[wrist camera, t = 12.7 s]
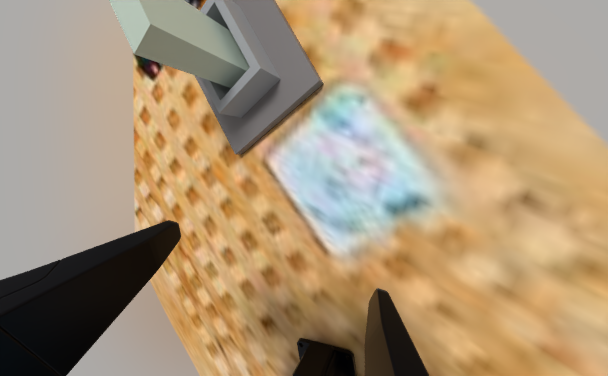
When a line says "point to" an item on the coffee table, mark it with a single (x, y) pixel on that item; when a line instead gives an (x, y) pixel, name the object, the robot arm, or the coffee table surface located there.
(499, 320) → the coffee table surface
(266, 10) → the grey socket base
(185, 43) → the pale green rectangular block
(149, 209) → the coffee table surface
